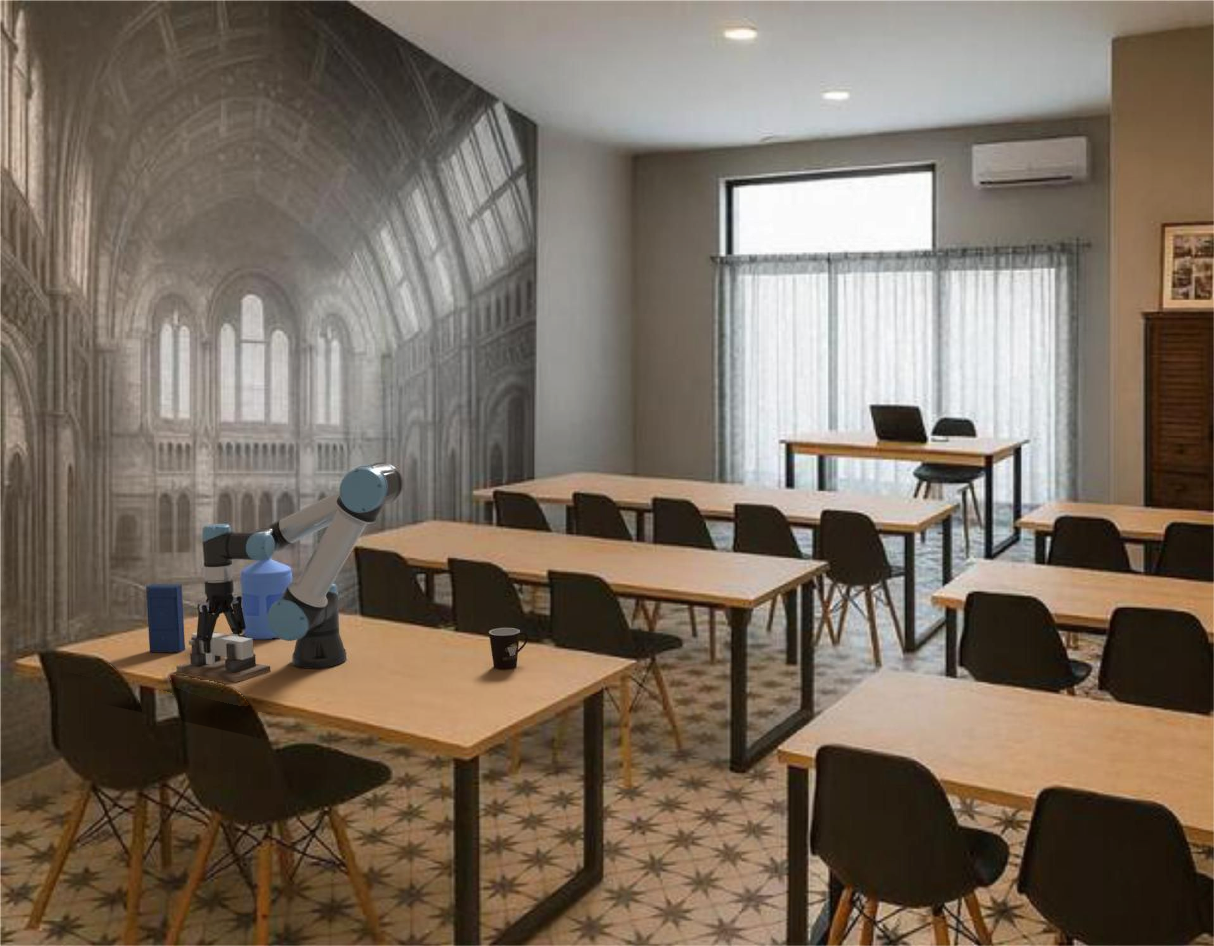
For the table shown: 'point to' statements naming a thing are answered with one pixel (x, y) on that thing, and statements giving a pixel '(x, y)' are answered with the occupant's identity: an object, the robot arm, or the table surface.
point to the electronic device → (165, 617)
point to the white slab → (241, 644)
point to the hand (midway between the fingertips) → (222, 660)
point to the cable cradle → (222, 665)
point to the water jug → (262, 595)
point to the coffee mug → (505, 647)
